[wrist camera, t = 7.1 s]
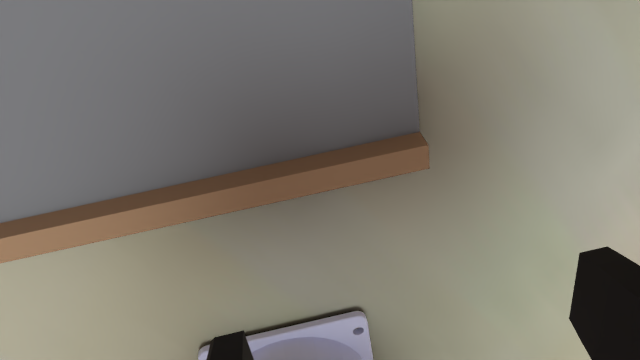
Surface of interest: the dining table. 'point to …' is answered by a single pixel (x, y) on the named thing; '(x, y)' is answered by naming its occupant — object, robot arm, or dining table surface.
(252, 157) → the lane
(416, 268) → the dining table surface
